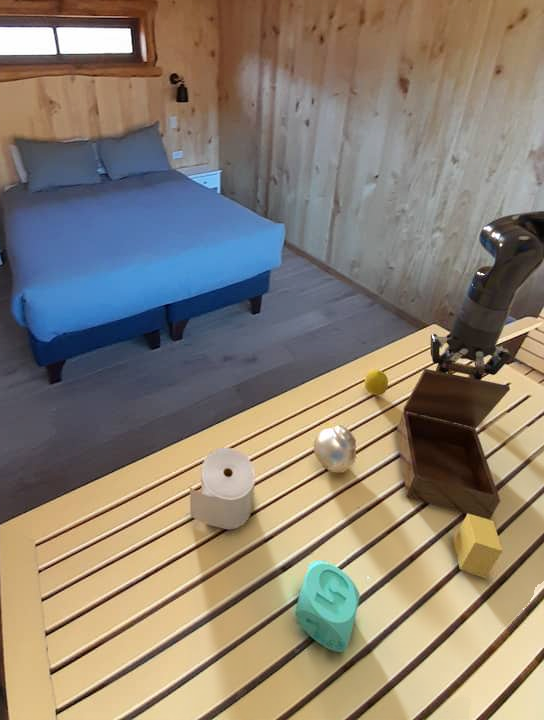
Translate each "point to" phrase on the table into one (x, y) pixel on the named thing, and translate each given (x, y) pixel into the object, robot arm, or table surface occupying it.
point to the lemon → (376, 382)
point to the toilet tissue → (224, 490)
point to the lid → (455, 396)
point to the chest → (445, 466)
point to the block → (477, 545)
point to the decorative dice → (327, 605)
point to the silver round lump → (335, 449)
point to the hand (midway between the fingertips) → (455, 379)
